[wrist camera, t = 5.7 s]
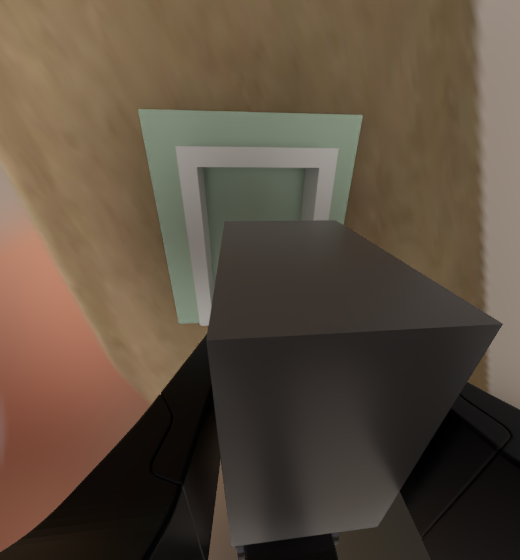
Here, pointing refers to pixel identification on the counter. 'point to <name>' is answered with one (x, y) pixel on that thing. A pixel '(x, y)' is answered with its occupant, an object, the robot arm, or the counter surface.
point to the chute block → (327, 375)
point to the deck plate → (239, 183)
